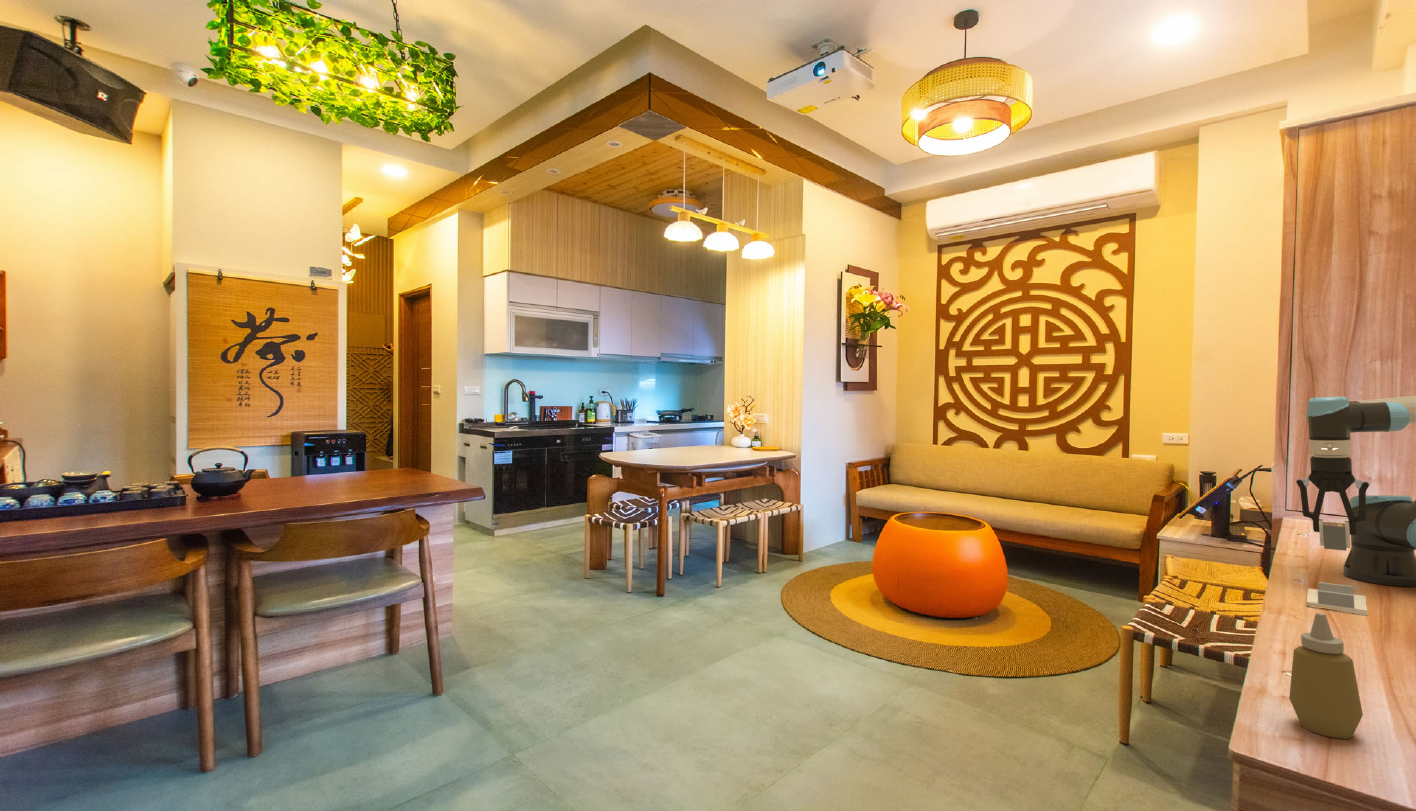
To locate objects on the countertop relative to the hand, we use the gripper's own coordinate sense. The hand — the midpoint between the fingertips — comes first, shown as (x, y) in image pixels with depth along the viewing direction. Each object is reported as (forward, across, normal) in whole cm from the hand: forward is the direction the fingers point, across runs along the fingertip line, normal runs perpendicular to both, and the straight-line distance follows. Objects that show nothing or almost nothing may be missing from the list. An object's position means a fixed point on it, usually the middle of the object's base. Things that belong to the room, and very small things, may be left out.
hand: (1335, 545), depth 158 cm
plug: (0, 0, 0) cm, 0 cm away
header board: (+12, 0, -12) cm, 17 cm away
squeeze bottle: (+12, -1, -92) cm, 93 cm away
